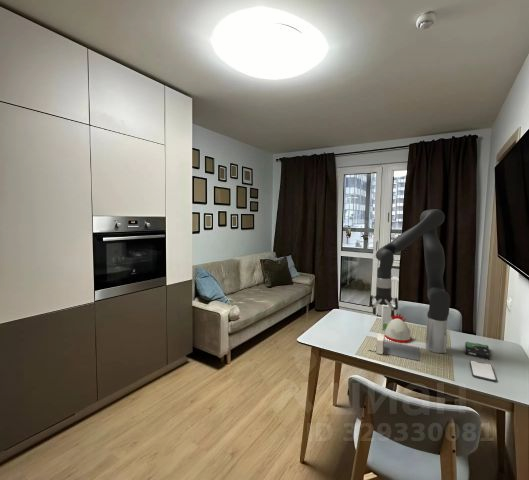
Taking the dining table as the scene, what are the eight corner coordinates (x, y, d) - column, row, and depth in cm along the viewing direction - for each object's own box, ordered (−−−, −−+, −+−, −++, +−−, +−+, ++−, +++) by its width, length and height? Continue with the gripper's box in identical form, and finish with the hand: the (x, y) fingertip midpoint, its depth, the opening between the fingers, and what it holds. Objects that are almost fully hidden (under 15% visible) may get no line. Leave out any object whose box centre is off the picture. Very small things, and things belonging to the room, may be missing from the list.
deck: (384, 334, 158) (383, 341, 149) (384, 346, 158) (382, 354, 150) (378, 333, 159) (376, 339, 150) (378, 345, 160) (376, 353, 151)
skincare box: (381, 329, 184) (382, 305, 183) (380, 326, 190) (381, 302, 189) (396, 331, 182) (397, 307, 180) (394, 327, 188) (395, 304, 187)
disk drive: (490, 361, 146) (487, 350, 158) (490, 355, 145) (488, 345, 158) (465, 355, 151) (464, 345, 164) (465, 350, 151) (465, 340, 163)
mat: (418, 348, 158) (418, 347, 158) (419, 361, 144) (419, 360, 144) (371, 339, 169) (371, 339, 169) (368, 350, 154) (368, 350, 154)
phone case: (497, 384, 125) (491, 367, 139) (497, 380, 125) (491, 364, 139) (472, 378, 130) (468, 362, 143) (472, 375, 129) (469, 359, 143)
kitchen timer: (386, 331, 181) (387, 308, 180) (411, 336, 174) (412, 312, 173) (383, 339, 169) (384, 314, 168) (409, 345, 162) (410, 318, 161)
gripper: (398, 285, 156) (397, 315, 158) (370, 283, 163) (370, 311, 164) (398, 288, 150) (397, 319, 151) (368, 286, 156) (368, 315, 157)
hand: (383, 315), depth 157 cm, fingers open, 8 cm apart
